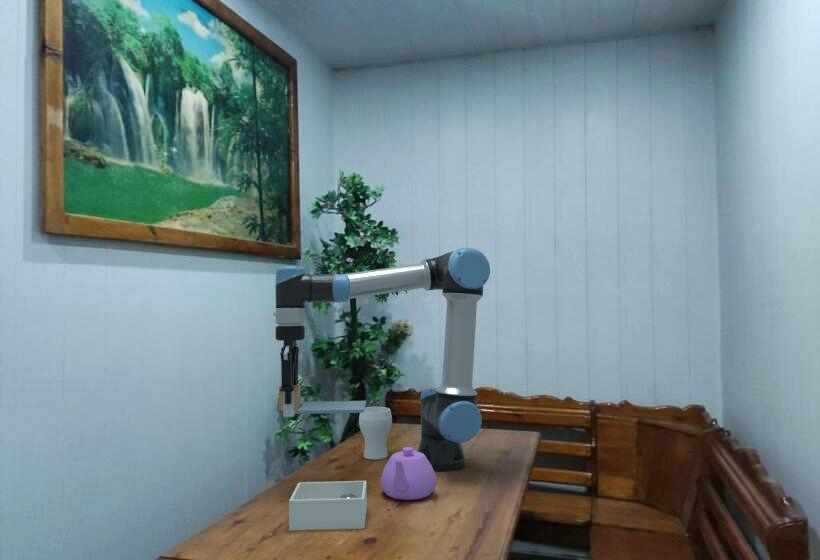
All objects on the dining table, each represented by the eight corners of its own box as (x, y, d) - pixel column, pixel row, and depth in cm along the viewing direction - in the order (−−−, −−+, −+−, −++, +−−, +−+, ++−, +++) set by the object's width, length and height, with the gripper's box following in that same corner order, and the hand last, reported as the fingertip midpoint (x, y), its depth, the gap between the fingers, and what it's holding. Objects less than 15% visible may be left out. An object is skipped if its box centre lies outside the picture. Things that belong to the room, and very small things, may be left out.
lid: (365, 403, 147) (365, 381, 147) (363, 412, 134) (363, 388, 135) (284, 404, 146) (284, 382, 146) (275, 414, 133) (275, 389, 134)
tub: (366, 510, 127) (366, 480, 127) (364, 532, 115) (364, 498, 115) (298, 512, 126) (298, 482, 126) (289, 534, 114) (289, 500, 114)
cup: (387, 461, 166) (387, 413, 167) (355, 460, 168) (354, 412, 169) (395, 452, 177) (395, 406, 177) (364, 451, 179) (364, 405, 180)
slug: (356, 511, 124) (356, 493, 125) (355, 517, 121) (355, 499, 121) (341, 511, 124) (341, 494, 124) (339, 517, 121) (339, 499, 121)
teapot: (426, 515, 124) (425, 462, 124) (368, 510, 127) (367, 458, 128) (442, 486, 143) (442, 440, 143) (392, 483, 146) (391, 438, 147)
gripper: (281, 324, 149) (281, 409, 148) (269, 326, 133) (268, 421, 132) (309, 323, 149) (309, 408, 148) (299, 325, 133) (299, 421, 132)
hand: (290, 414), depth 140 cm, fingers closed on lid, 3 cm apart
